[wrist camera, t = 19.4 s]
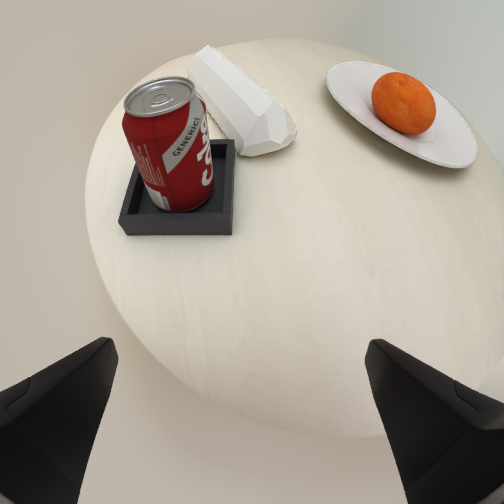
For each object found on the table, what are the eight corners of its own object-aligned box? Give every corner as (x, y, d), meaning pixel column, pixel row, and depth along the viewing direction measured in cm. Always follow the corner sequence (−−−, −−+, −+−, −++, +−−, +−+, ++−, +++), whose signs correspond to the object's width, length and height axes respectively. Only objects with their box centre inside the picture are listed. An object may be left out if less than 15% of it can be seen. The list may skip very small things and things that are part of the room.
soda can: (162, 227, 26) (122, 132, 15) (144, 181, 28) (111, 92, 18) (225, 200, 27) (218, 98, 17) (200, 158, 30) (187, 66, 19)
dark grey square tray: (231, 235, 26) (230, 220, 24) (127, 235, 26) (117, 221, 23) (234, 155, 31) (234, 138, 28) (147, 159, 30) (142, 143, 28)
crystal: (323, 125, 28) (235, 51, 37) (279, 110, 24) (198, 40, 33) (288, 171, 33) (216, 85, 42) (242, 166, 28) (180, 78, 38)
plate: (396, 75, 45) (407, 45, 38) (488, 166, 34) (510, 136, 27) (290, 79, 40) (295, 36, 32) (403, 202, 29) (437, 153, 21)
